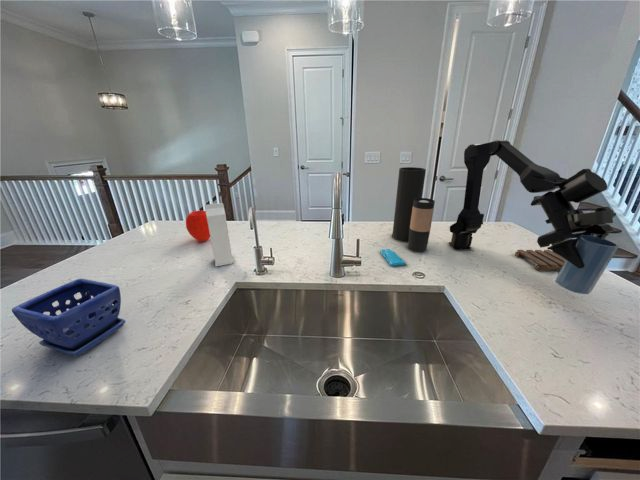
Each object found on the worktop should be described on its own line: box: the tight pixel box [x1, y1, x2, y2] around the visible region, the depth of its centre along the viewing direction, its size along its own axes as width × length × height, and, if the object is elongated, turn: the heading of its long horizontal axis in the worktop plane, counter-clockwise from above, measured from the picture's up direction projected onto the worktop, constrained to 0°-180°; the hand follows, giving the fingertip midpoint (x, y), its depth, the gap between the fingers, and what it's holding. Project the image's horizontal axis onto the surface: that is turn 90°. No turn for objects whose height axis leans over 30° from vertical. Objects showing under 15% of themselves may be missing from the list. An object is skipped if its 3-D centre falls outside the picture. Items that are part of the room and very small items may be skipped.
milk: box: [204, 202, 234, 267], centre depth 92 cm, size 6×6×22 cm
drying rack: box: [514, 249, 566, 272], centre depth 92 cm, size 16×12×2 cm
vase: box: [391, 166, 427, 243], centre depth 111 cm, size 10×10×30 cm
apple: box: [185, 210, 211, 242], centre depth 114 cm, size 12×12×13 cm
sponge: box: [380, 248, 406, 267], centre depth 97 cm, size 2×12×6 cm
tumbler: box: [554, 235, 620, 295], centre depth 67 cm, size 7×7×14 cm
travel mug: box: [407, 197, 436, 253], centre depth 101 cm, size 8×8×20 cm
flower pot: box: [11, 278, 126, 357], centre depth 59 cm, size 13×13×12 cm
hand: (592, 265), depth 65 cm, fingers closed on tumbler, 7 cm apart
